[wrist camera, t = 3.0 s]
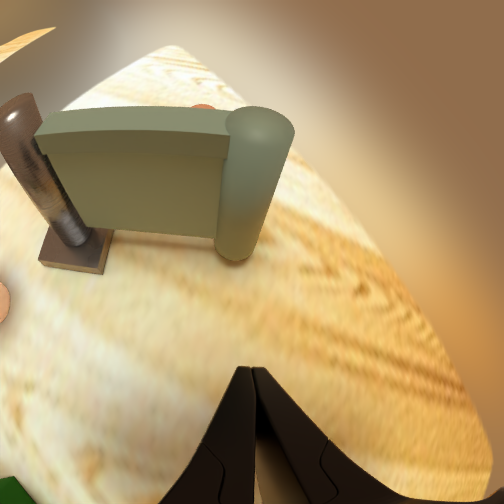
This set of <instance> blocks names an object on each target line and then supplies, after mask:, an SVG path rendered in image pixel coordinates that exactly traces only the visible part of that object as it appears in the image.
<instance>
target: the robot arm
mask: <svg viewBox="0 0 504 504" xmlns="http://www.w3.org/2000/svg"><path fill="white" fill-rule="evenodd" d="M255 469H256V474H257V479H258V484H259V489H260V494H261V499H262V504H504V487H501V488H499V489H498V490H496V491H495V492H494V493H493V494H491V495H490V496H489V497H487V498H486V499H483V500H480V501H475V502H447V501H432V500H422V499H414V498H409V497H405V496H403V495H400V494H398V493H396V492H394V491H393V490H391V489H390V488H388V487H387V486H385V485H384V484H382V483H381V482H380V481H378V480H377V479H375V478H374V477H373V476H371V475H370V474H368V473H367V472H366V471H364V470H363V469H362V468H361V467H359V466H358V465H357V464H356V463H354V462H353V461H352V460H351V459H349V458H348V457H347V456H346V455H345V454H344V453H343V452H342V451H341V450H340V449H339V448H338V447H337V446H336V445H335V444H334V443H333V442H332V441H331V440H328V437H327V436H326V435H325V434H324V433H323V432H322V431H321V430H320V429H319V428H318V427H317V426H316V424H315V423H314V422H313V421H312V420H311V419H310V418H309V417H308V416H307V415H306V414H305V413H304V411H303V410H302V409H301V408H300V407H299V406H298V405H297V404H296V403H295V401H294V400H293V399H292V398H291V397H290V396H289V395H288V394H287V392H286V391H285V390H284V389H283V388H282V387H281V386H280V384H279V383H278V382H277V381H276V380H275V379H274V378H273V376H272V375H271V374H270V373H269V372H268V370H267V369H266V368H264V367H252V368H250V367H249V366H238V367H237V368H236V370H235V372H234V374H233V376H232V378H231V381H230V383H229V385H228V387H227V389H226V391H225V393H224V395H223V397H222V399H221V401H220V404H219V406H218V408H217V410H216V412H215V414H214V416H213V418H212V420H211V422H210V424H209V426H208V428H207V430H206V432H205V434H204V436H203V438H202V440H201V443H199V445H198V447H197V449H196V451H195V453H194V455H193V457H192V458H191V460H190V462H189V464H188V465H187V467H186V468H185V470H184V471H183V473H182V474H181V475H180V477H179V478H178V480H177V481H176V482H175V483H174V485H173V486H172V487H171V488H170V490H169V491H168V492H167V493H166V495H165V496H164V497H163V498H162V499H161V501H160V502H159V503H158V504H254V484H255Z"/></svg>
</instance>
